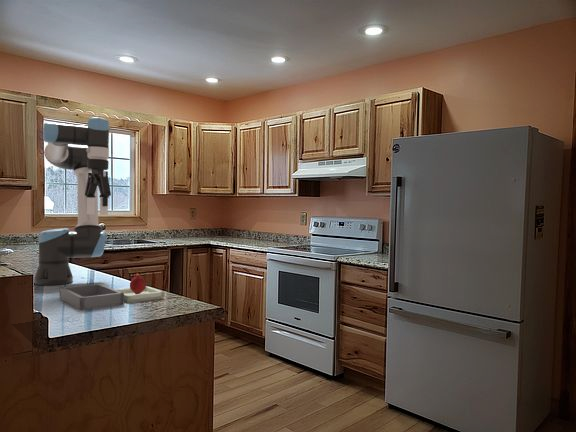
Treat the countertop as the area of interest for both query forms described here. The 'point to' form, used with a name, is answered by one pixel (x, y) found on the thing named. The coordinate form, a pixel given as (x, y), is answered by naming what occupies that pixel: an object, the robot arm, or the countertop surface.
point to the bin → (91, 296)
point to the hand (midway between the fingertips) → (97, 214)
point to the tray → (141, 295)
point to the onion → (137, 284)
